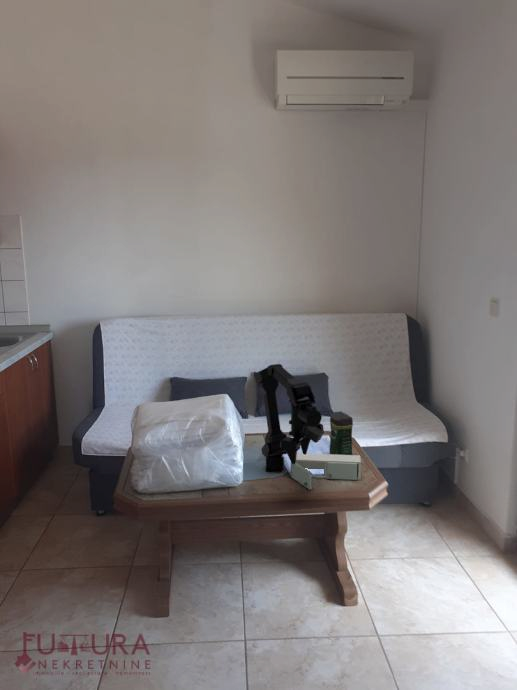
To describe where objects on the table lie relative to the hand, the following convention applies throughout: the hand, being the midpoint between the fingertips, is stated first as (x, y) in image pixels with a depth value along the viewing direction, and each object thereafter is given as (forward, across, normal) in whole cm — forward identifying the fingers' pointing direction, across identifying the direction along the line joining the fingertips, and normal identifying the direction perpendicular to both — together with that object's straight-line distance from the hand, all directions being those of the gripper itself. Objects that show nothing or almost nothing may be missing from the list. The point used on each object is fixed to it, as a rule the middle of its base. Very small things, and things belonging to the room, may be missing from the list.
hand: (299, 459), depth 198 cm
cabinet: (+12, +15, -4) cm, 20 cm away
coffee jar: (+12, +34, -3) cm, 36 cm away
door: (+12, +5, +2) cm, 13 cm away
